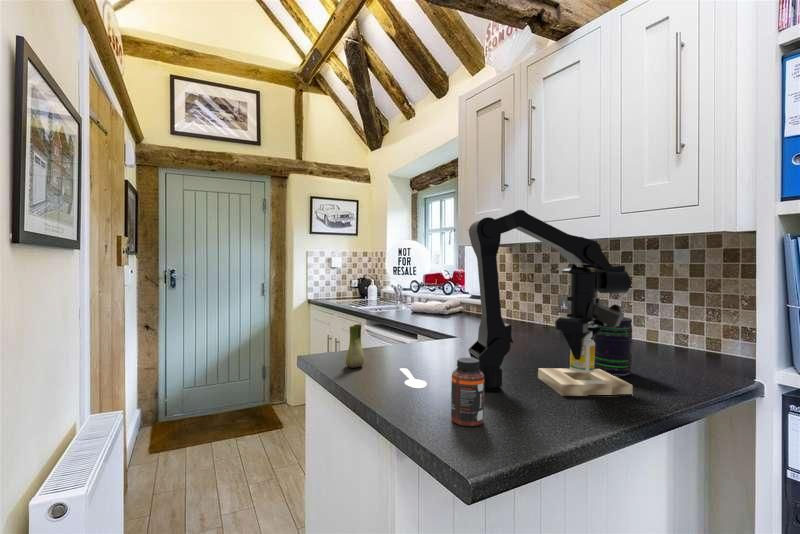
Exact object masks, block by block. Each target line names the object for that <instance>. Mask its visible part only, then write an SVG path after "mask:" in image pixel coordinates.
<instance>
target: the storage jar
mask: <svg viewBox="0 0 800 534" xmlns="http://www.w3.org/2000/svg"><path fill="white" fill-rule="evenodd" d="M632 323H633V319H632V318H630V317H626V316H625V317H624V319H622V320H621V322H620V325H619V326H616V327H615V328H613V327H610V326H608V325H607V326H602V325H600V324H597V327H601V328H603V329H602V330H601V331H599V332H598V333H597V334H596V335H595V337H594V340H593V341H594V342H595V361H594V369H601V370H603V371H605V372H607V373H609V374H627V373H630V372H631V373H632V371H631V369H632V364H633V363H632V358H633V356H632V354H631V342H632V339H633V334H632V333H633V325H632Z"/></svg>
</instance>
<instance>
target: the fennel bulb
mask: <svg viewBox="0 0 800 534" xmlns="http://www.w3.org/2000/svg"><path fill="white" fill-rule="evenodd" d="M347 350H348V351H347V353H346V357H345V365H346V366H347V367H348V368H351V369H355V368H360V367H362V366H363V365H364V362H365V355H364V351H363V346H362V323H356V324H353V325H350V326H349V346H348V349H347Z"/></svg>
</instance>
